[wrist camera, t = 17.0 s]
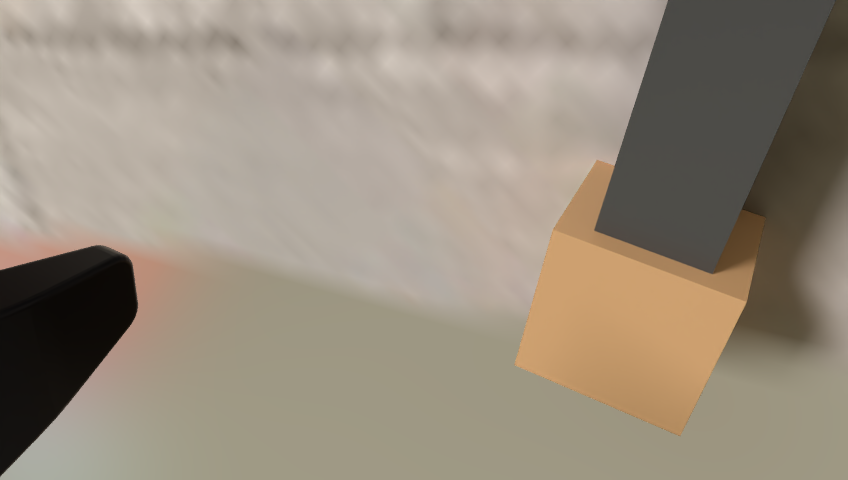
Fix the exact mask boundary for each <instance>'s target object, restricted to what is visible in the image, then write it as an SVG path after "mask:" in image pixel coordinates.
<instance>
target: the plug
mask: <svg viewBox="0 0 848 480" xmlns="http://www.w3.org/2000/svg"><path fill="white" fill-rule="evenodd" d="M835 1H836V0H668V3H667V6H666V9H665V12H664V15H663V18H662V21H661V24H660V28H659V31H658V34H657V37H656V40H655V43H654V46H653V49H652V52H651V55H650V59H649V62H648V65H647V68H646V71H645V74H644V77H643V80H642V83H641V86H640V89H639V93H638V96H637V99H636V102H635V105H634V108H633V111H632V114H631V117H630V120H629V124H628V127H627V130H626V133H625V136H624V139H623V142H622V145H621V148H620V151H619V154H618V158H617V161H616V164H615V166H613V165H611V164H608V163H605V162H602V161H599V160H597V161H596V163H595V164H594V166H593V167H592V169H591V171H590V172H589V174H588V175H587V177H586V178H585V180H584V182H583V183H582V185H581V186H580V188H579V189H578V191H577V193H576V194H575V196H574V197H573V199H572V200H571V202H570V204H569V205H568V207H567V208H566V210H565V211H564V213H563V215H562V216H561V218H560V219H559V221H558V222H557V224H556V226H555V227H554V229H553V231H552V235H551V238H550V242H549V245H548V249H547V252H546V256H545V259H544V263H543V266H542V270H541V273H540V277H539V280H538V284H537V287H536V291H535V294H534V298H533V302H532V305H531V309H530V312H529V316H528V319H527V323H526V326H525V330H524V333H523V337H522V340H521V344H520V347H519V351H518V354H517V358H516V361H515V365H516V366H518V367H520V368H523V369H525V370H527V371H530V372H532V373H534V374H537V375H539V376H541V377H543V378H546V379H548V380H550V381H553V382H555V383H557V384H560V385H562V386H564V387H567V388H569V389H571V390H574V391H576V392H579V393H581V394H583V395H585V396H588V397H590V398H592V399H595V400H597V401H599V402H602V403H604V404H606V405H609V406H611V407H613V408H615V409H618V410H620V411H623V412H625V413H627V414H629V415H632V416H634V417H636V418H639V419H641V420H643V421H646V422H648V423H650V424H653V425H655V426H658V427H660V428H662V429H664V430H667V431H669V432H671V433H674V434H676V435H678V436H680V435H681V433H682V431H683V429H684V427H685V425H686V423H687V421H688V419H689V417H690V415H691V413H692V411H693V409H694V407H695V405H696V403H697V401H698V399H699V397H700V395H701V393H702V391H703V389H704V387H705V385H706V383H707V381H708V379H709V377H710V375H711V373H712V371H713V369H714V367H715V365H716V363H717V361H718V359H719V357H720V355H721V353H722V351H723V349H724V347H725V345H726V343H727V341H728V339H729V337H730V335H731V333H732V331H733V329H734V327H735V325H736V323H737V321H738V319H739V317H740V315H741V313H742V311H743V309H744V307H745V305H746V303H747V299H748V294H749V290H750V285H751V281H752V277H753V272H754V268H755V263H756V259H757V254H758V250H759V245H760V241H761V236H762V232H763V227H764V223H765V218H766V217H763V216H760V215H757V214H754V213H751V212H748V211H745V210H742V207H743V205H744V203H745V201H746V199H747V196H748V194H749V192H750V190H751V187H752V185H753V183H754V181H755V179H756V176H757V174H758V172H759V170H760V168H761V165H762V163H763V161H764V159H765V156H766V154H767V152H768V150H769V148H770V145H771V143H772V141H773V139H774V136H775V134H776V132H777V130H778V128H779V125H780V123H781V121H782V119H783V116H784V114H785V112H786V110H787V108H788V105H789V103H790V101H791V99H792V97H793V94H794V92H795V90H796V88H797V85H798V83H799V81H800V79H801V77H802V74H803V72H804V70H805V68H806V65H807V63H808V61H809V59H810V57H811V54H812V52H813V50H814V48H815V45H816V43H817V41H818V39H819V37H820V34H821V32H822V30H823V28H824V25H825V23H826V21H827V19H828V17H829V14H830V12H831V10H832V8H833V6H834V3H835Z"/></svg>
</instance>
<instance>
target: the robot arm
mask: <svg viewBox="0 0 848 480" xmlns="http://www.w3.org/2000/svg"><path fill="white" fill-rule="evenodd" d="M137 309H138V300H137V293H136V286H135V278H134V271H133V265H132V262H131V260H130V259H129V257H128V256H126V255H124V254H122V253H120V252H118V251H115V250H113V249H111V248H109V247H106V246H102V245H96V246H91V247H87V248H83V249H80V250H76V251H72V252H68V253H64V254H60V255H57V256H53V257H49V258H45V259H41V260H37V261H33V262H30V263H26V264H22V265H18V266H14V267H11V268H6V269H3V270H0V476H1V475H2V474H3V473H4V472H5V471H6V470H7V469H8V468H9V467H10V466H11V465H12V464H13V463H14V462H15V461H16V460H17V459H18V458H19V457H20V456H21V455H22V454H23V452H24V451H25V450H26V449H27V448H28V447H29V446H30V445H31V444H32V443H33V442H34V441H35V440H36V439H37V438H38V437H39V436H40V435H41V434H42V433H43V432H44V431H45V429H47V427H48V426H49V425H50V424H51V423H52V422H53V421H54V420H55V419H56V418H57V416H58V415H59V414H60V413H61V412H62V411H63V409H64V408H65V407H66V406H67V405H68V403H69V402H70V401H71V400H72V398H73V397H74V396H75V395H76V393H77V392H78V391H79V390H80V388H81V387H82V386H83V385H84V383H85V382H86V381H87V380H88V378H89V377H90V376H91V374H92V373H93V372H94V371H95V369H96V368H97V367H98V366H99V364H100V363H101V362H102V361H103V359H104V358H105V357H106V356H107V354H108V353H109V351H111V349H112V348H113V347H114V345H115V344H116V343H117V342H118V340H119V339H120V338H121V337H122V335H123V334H124V333H125V332H126V330H127V329H128V328H129V327H130V325H131V324H132V322H133V320H134V318H135V316H136V313H137Z"/></svg>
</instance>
